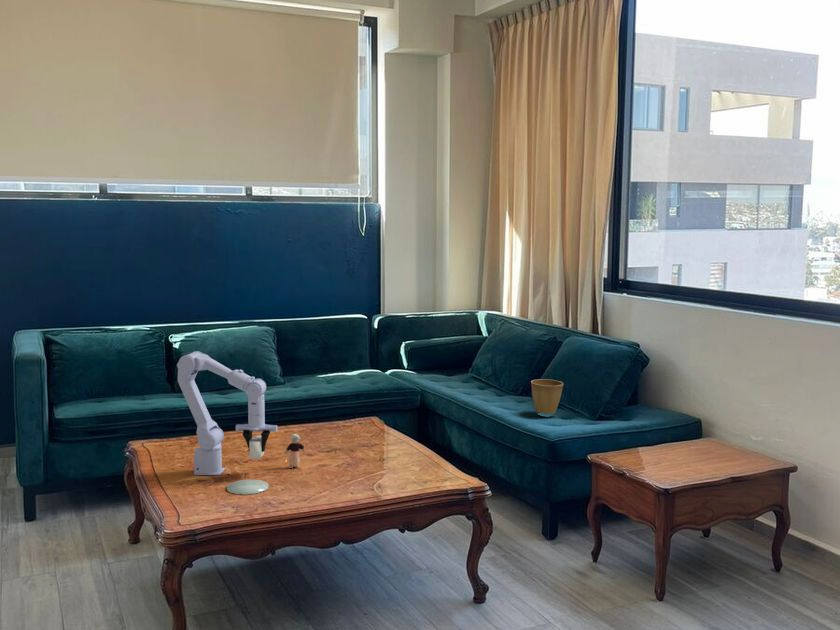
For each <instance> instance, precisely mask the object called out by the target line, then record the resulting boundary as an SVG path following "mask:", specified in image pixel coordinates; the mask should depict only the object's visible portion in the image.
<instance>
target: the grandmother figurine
mask: <svg viewBox="0 0 840 630" xmlns="http://www.w3.org/2000/svg"><path fill="white" fill-rule="evenodd" d="M300 439H301V437H300V435H298V434H297V433H292V434H291V436H290V440H291V442H292V443H291V442H290V444H289V445H288V446H287V447H286V449H285V452H284V455H288V453H289V459H288V462H289V466H288V469H289V468H292V469H294V468H295V467H300V468H301V465H300V461H301V460H300V457H301V456H300V450H301V451H302V453H306V449H305V446H304V445H303V444H302V443H300V442H299V441H300ZM289 451H290V452H289ZM293 467H294V468H293Z"/></svg>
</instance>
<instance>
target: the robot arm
mask: <svg viewBox="0 0 840 630" xmlns="http://www.w3.org/2000/svg"><path fill="white" fill-rule="evenodd" d="M176 367H177V383H178V385H179V388H180V390H181V393H182V394H183V397H184V399H185V401H186V404H187V405H188V408H189V410H190V412H191V415H192V417H193V419H194V422H195V424H196V427H197V428H196V435H197V443H198V446H199V447H196V448H195V450H194V453H193V455H194V456H193V467H194V468H193V469H194V471H193V472H194V473H193V475H197V476H200V475H201V476H221V474H223V472H224V471H225V470H226V467H225V466H223V458H222V455H223V453H222V452H223V451H222V442H223V440H224V438H225V434H224V431H223V429H221V427H219V425H218V423H217V422H216V421H215V420H214V419H212V417H211V415H210V413H209V410H208V409H207V406H206V403H205V401H204V399H203V397H202V394H201V393H200V389H199V388H198V385H197V384H196V381H195V379H196V376H197V374H198V372H199V371H207V370H208V371H209V372H212V373H214V374H215V375H218V376H220V377H222V378H225V379H227V383H228V384H229V385H231V386H233V387H235V388H237V389H239V390H241V391H243V392H245V394H246V396H247V398H248V400H247V402H248V403H247V408H248V409H247V412H248V414H247V415H248V416H247V417H248V418H247V419H248V421H247V422H248V423H244V424H236V425H235V432H242V436H243V437H244V440H245V442H246V444H247V448H248V452H250V449H249V441H250V440H251V439H252V437H253V432H261V434H260V436H261V439H262V452H264V453H265V450H266V444H267V442H268V439H269V436H270V434H271V433H272V432H273V433H277V432H278V425H277V424H276V425H275V424H267V423H265V422H266V420H265V419H266V417H265V416H266V415H265V413H266V412H265V411H266V410H265V406H266V405H265V404H266V403H265V392H266V391H267V383H266V382H265V381H264V380H263V379H262V378H255V376H250V375H248V374H247V373H245V372H244V370H243V369H233V370H232V369H231V368H229V367H227V366H225V365H224V364H222V363H220V362H218V361H217V360H216V359H213V358H211V357H210V356H209V355H208V354H207V353H203V352H201V351H199V350H195V351H192V352H191V353H188V354H185V355H182V356H181V357H180V358H179V360H178V362H177V363H176Z"/></svg>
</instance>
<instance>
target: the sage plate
mask: <svg viewBox="0 0 840 630" xmlns="http://www.w3.org/2000/svg"><path fill="white" fill-rule="evenodd" d="M269 488H270V484H269V483H268V482H266V481H265V480H261V479H241V480H236V481H233V482H231V483H229V484H228V485H227V486H226V491H227V493H230V494H233V493H234V495H239V494H242V495H241V496H247V495H249V494H251V495H256V493H257V494H261V493H263V491H264V492H266V491H267V490H268V489H269ZM265 490H266V491H265ZM260 492H261V493H260Z"/></svg>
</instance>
